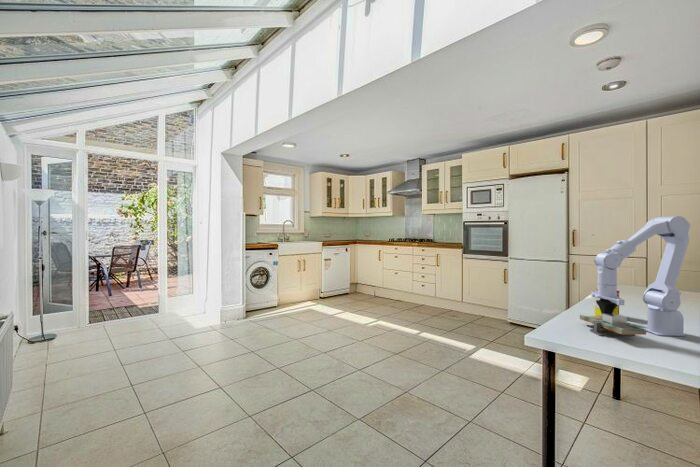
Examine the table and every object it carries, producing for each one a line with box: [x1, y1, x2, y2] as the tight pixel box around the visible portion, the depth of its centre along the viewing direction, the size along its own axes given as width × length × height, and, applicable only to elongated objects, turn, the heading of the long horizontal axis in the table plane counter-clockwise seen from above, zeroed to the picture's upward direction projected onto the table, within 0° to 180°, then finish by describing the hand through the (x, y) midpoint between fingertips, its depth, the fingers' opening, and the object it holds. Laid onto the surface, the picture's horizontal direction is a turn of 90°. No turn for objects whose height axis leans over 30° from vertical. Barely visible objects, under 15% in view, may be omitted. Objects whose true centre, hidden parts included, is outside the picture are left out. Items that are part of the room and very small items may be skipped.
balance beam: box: [579, 314, 647, 336], centre depth 120 cm, size 22×8×2 cm, turn 176°
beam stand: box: [589, 321, 636, 337], centre depth 119 cm, size 5×12×4 cm, turn 86°
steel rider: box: [602, 313, 628, 326], centre depth 118 cm, size 5×5×4 cm
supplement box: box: [594, 297, 618, 316], centre depth 135 cm, size 6×6×11 cm
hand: (606, 319), depth 122 cm, fingers closed
